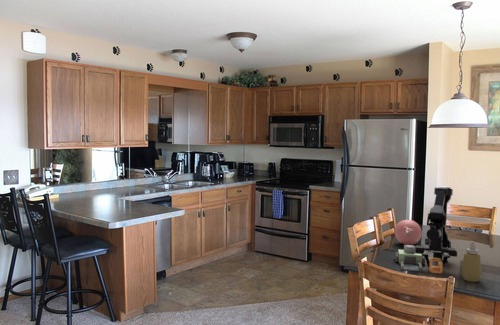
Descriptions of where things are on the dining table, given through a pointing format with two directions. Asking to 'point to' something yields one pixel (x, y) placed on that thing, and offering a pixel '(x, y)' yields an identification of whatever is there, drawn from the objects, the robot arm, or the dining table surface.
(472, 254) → the squeeze bottle
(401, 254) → the mower deck
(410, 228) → the pink rounded piece
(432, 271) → the chute
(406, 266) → the chute bracket
